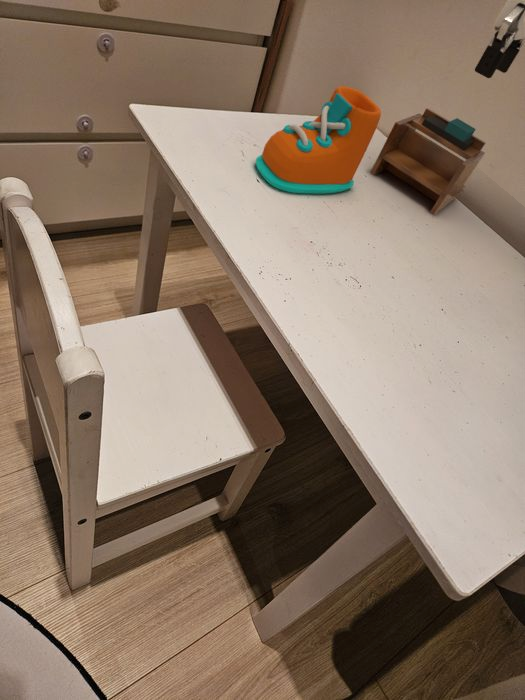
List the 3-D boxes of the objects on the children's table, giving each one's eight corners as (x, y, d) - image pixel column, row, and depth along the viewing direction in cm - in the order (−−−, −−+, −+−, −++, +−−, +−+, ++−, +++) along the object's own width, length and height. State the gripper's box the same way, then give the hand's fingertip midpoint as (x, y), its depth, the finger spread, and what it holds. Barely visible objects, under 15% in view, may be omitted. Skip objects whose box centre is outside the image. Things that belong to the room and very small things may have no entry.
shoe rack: (453, 200, 101) (490, 145, 92) (432, 215, 93) (471, 158, 84) (393, 161, 105) (423, 105, 95) (369, 173, 97) (399, 114, 88)
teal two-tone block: (421, 124, 92) (429, 109, 90) (429, 121, 95) (437, 106, 93) (463, 150, 90) (473, 135, 88) (470, 146, 93) (480, 131, 91)
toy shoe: (244, 158, 86) (268, 72, 75) (327, 160, 95) (359, 84, 84) (273, 198, 80) (304, 111, 69) (359, 195, 89) (397, 119, 78)
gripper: (549, -52, 78) (486, 59, 90) (524, -61, 67) (456, 66, 79) (590, -34, 76) (520, 76, 88) (572, -40, 65) (494, 87, 77)
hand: (490, 72), depth 84 cm, fingers open, 9 cm apart
